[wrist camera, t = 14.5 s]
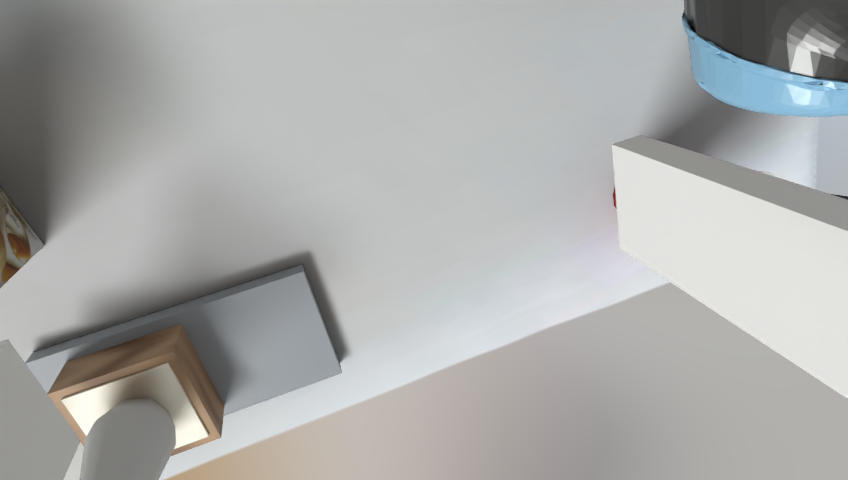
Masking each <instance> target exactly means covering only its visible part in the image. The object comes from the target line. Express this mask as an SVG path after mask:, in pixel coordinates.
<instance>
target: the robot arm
mask: <svg viewBox="0 0 848 480" xmlns="http://www.w3.org/2000/svg"><path fill="white" fill-rule="evenodd" d="M682 22H683V27H684V29H685V32H686V33H687V34H688V42H689V51H690V59H691V68H692V72H693V75H694V77H695V80H696V81H697V83H698V84H699V85H700V86H701V87H702V88H703V89H704V90H705V91H706V92H708V93H710V94H711V95H712V96H713V97H714V98H716V99H718V100H720V101H722V102H724V103H726V104H729V105H732V106H735V107H738V108H741V109H745V110H749V111H754V112H760V113H766V114H773V115H783V116H798V117H831V116H844V115H848V0H684V13H683V15H682ZM612 151H613V165H614V179H615V193H616V207H617V221H618V235H619V249H621V250H622V251H624V252H625V253H627V254H628V255H630V256H631V257H633V258H635V259H636V260H638V261H639V262H641V263H642V264H644V265H645V266H647V267H648V268H650V269H651V270H653V271H654V272H656V273H657V274H659V275H660V276H662V277H663V278H665V279H666V280H668V281H669V282H671V283H673V284H674V285H676V286H677V287H679V288H680V289H682V290H683V291H685V292H686V293H688V294H689V295H691V296H692V297H694V298H696V299H697V300H698V301H700V302H702V303H703V304H704V305H706V306H708V307H709V308H711V309H712V310H714V311H715V312H717V313H718V314H720V315H721V316H723V317H724V318H726V319H727V320H729V321H730V322H732V323H733V324H735V325H737V326H738V327H739V328H741V329H743V330H744V331H746V332H747V333H749V334H750V335H752V336H753V337H755V338H756V339H758V340H759V341H761V342H762V343H764V344H765V345H767V346H768V347H770V348H771V349H773V350H774V351H776V352H778V353H779V354H781V355H782V356H784V357H785V358H787V359H788V360H790V361H791V362H793V363H794V364H796V365H797V366H799V367H800V368H802V369H803V370H805V371H806V372H808V373H809V374H811V375H812V376H814V377H816V378H817V379H819V380H820V381H822V382H823V383H825V384H826V385H828V386H829V387H831V388H832V389H834V390H835V391H837V392H838V393H840V394H841V395H843V396H844V397H846V398H847V399H848V197H847V196H840V195H833V194H828V193H825V192H821V191H818V190H815V189H812V188H809V187H806V186H802V185H799V184H796V183H793V182H790V181H786V180H783V179H780V178H777V177H774V176H771V175H767V174H764V173H761V172H758V171H755V170H751V169H748V168H745V167H742V166H739V165H736V164H732V163H729V162H726V161H723V160H720V159H716V158H713V157H710V156H707V155H704V154H701V153H697V152H694V151H691V150H688V149H685V148H681V147H678V146H675V145H672V144H669V143H666V142H662V141H659V140H656V139H653V138H650V137H646V136H643V135H640V136H636V137H633V138H630V139H627V140H624V141H621V142H618V143H615V144H612ZM80 441H81V440H80V439H79V438H78V436H77V435H76V433H75V432H74V431H73V429H72V428H71V426H70V425H69V424H68V422H67V421H66V419H65V418H64V417H63V415H62V414H61V412H60V411H59V410H58V408H57V407H56V405H55V404H54V403H53V401H52V400H51V398H50V397H49V396H48V394H47V393H46V391H45V390H44V389H43V387H42V386H41V384H40V383H39V382H38V380H37V379H36V378H35V376H34V375H33V373H32V372H31V371H30V369H29V368H28V366H27V365H26V364H25V362H24V361H23V359H22V358H21V357H20V355H19V354H18V352H17V351H16V350H15V348H14V347H13V345H12V344H11V343H10V341H9V340H8V339H7V340H4V341H1V342H0V480H63V479H64V477H65V474H66V472H67V470H68V468H69V465H70V463H71V461H72V459H73V456H74V454H75V452H76V450H77V447H78V445H79V443H80Z"/></svg>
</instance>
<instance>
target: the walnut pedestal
mask: <svg viewBox="0 0 848 480" xmlns="http://www.w3.org/2000/svg"><path fill="white" fill-rule="evenodd" d="M47 394H48V396H49V397H50V398H51V400H52V401H53V403H54V404H55V405H56V407H57V408H58V410H59V411H60V412H61V414H62V415H63V417H64V418H65V419H66V421H67V422H68V424H69V425H70V426H71V428H72V429H73V431H74V432H75V433H76V435H77V436H78V438H79V439H80V440H81V441H80V442H81V443H82V444H83V446H84V445H85V438H86V436H87V434H88V433H89V431H90V429H91V427H92V426H93V424H94V423H95V421H96V420H97V419H98V418H100V417H101V416H102V415H104V414H105V413H107V412H108V411H109V410H111V409H112V408H113V407H115V406H116V405H118V404H119V403H120V402H122V401H123V400H124V399H139V398H153V399H154V400H155V401H156V402H157V403H159V404H160V405H161V406H162V407H164V408H165V409H166V410H167V411H169V413H170V415H171V418H172V420H173V422H174V425H175V433H176V445H175V447H174V449H173V451H172V453H171V455H170V456H173V455H175V454H178V453H181V452H183V451H186V450H189V449H192V448H194V447H197V446H200V445H202V444H205V443H208V442H211V441H213V440H216V439H219V438H221V433H222V424H223V415H224V406H225V405H224V403H223V402H222V400H221V398H220V396H219V394H218V392H217V390H216V388H215V386H214V384H213V383H212V381H211V379H210V377H209V375H208V373H207V371H206V369H205V367H204V365H203V364H202V362H201V360H200V358H199V356H198V354H197V352H196V350H195V348H194V346H193V345H192V343H191V341H190V339H189V337H188V335H187V333H186V331H185V329H184V327H183V326H182V324H178V325H175V326H172V327H169V328H166V329H163V330H160V331H157V332H154V333H151V334H148V335H145V336H142V337H139V338H136V339H133V340H130V341H128V342H125V343H122V344H119V345H116V346H113V347H110V348H107V349H104V350H101V351H98V352H95V353H92V354H89V355H86V356H83V357H80V358H77V359H74V360H71V361H68V362H66V363H65V364H64V366H63V368H62V369H61V371H60V373H59V375H58V376H57V378H56V380H55V381H54V383H53V385H52V386H51V388H50V390H49V392H48V393H47Z"/></svg>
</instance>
